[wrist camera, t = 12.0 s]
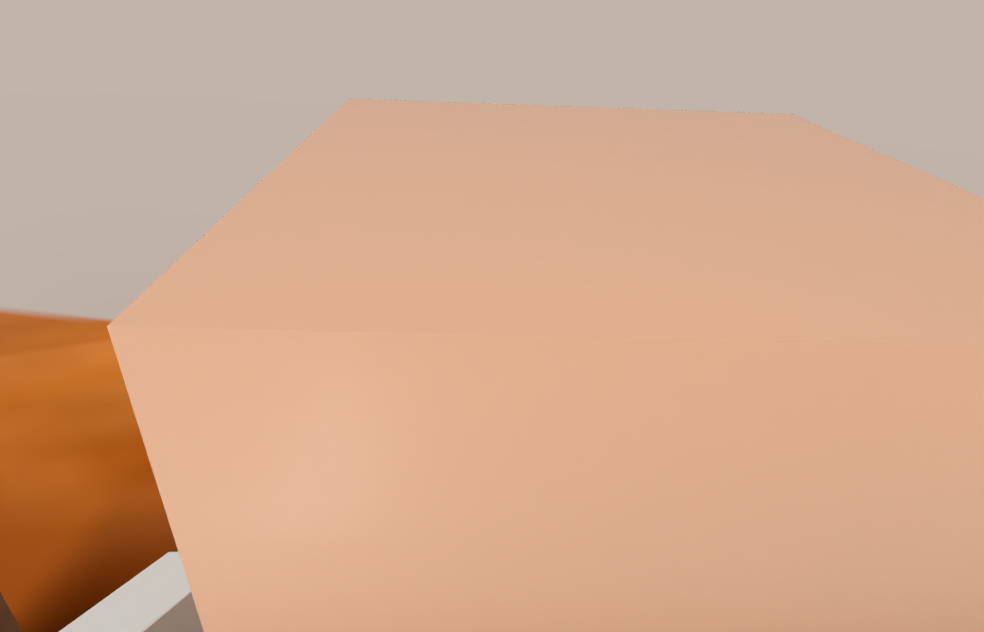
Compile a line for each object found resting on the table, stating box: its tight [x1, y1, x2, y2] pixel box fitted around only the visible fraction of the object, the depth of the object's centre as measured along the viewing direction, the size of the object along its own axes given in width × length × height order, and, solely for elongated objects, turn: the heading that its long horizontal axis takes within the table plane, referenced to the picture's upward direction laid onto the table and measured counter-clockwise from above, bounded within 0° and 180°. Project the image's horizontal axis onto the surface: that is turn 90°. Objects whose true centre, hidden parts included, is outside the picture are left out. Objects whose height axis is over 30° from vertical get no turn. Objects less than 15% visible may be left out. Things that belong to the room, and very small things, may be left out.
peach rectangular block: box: [107, 99, 984, 632], centre depth 8 cm, size 6×6×12 cm
